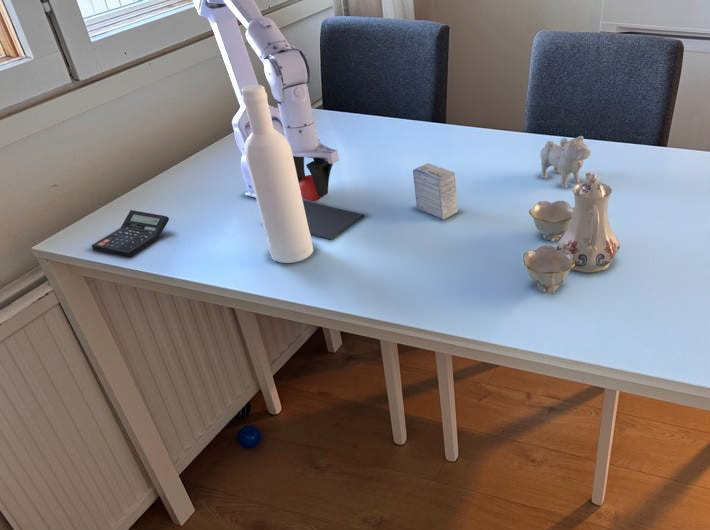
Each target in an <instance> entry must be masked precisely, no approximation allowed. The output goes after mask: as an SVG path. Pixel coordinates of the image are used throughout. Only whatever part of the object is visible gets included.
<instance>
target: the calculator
mask: <svg viewBox="0 0 710 530" xmlns="http://www.w3.org/2000/svg"><path fill="white" fill-rule="evenodd" d="M169 220H170V218H169V217H168V216H167V215H162V214H156V213H150V212H146V211H145V212H144V211H139V210H134V209H133V210H132V209H130V210H129V212H128V214H127V215H126V217H125V219H124V221H123V223H122V224H121V226H120V227H119V228H118V229H116V230H115V231H112V232H111V233H109V234H107V235H105V236H104V237H103V238H101V239H100V240H98V241H96V242H95V243H93V244H91V248H92V250H94V251H100V252H104V253H109V254H114V255H118V256H119V255H120V256H124V257H129V258H130V257H132V256H134V255H135V254H137V253H139V252H140V251H142V250H143V249H145V248H146V247H148V246H149V245H151V244H153V243H154V242H155V241H157V240H158V239H160V237H161V235H162V233H163V232H164V229H165V228H166V226H167V224H168V222H170V221H169Z"/></svg>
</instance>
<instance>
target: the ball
mask: <svg viewBox="0 0 710 530" xmlns="http://www.w3.org/2000/svg"><path fill="white" fill-rule="evenodd" d="M299 187H300V191H301V196H302V199H303V200H305V201H308V202H317V201H319V200H321V199H322V198H323V197H319V196H318V194H317V190H316V187H315V183H314V180H313V177H312V175H311V174H307V175H305V177H303V178H302V179H301V180H300V182H299Z"/></svg>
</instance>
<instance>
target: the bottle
mask: <svg viewBox="0 0 710 530" xmlns="http://www.w3.org/2000/svg"><path fill="white" fill-rule="evenodd" d="M241 91H242V99H243V101H244V103H245V107H246V111H247V115H248V119H249V122H248V123H249V124H250V126H251V130H252V133H251V134H250V136H249V137H248V138H247V140H246V142H245V158H246V162H247V166H248V170H249V174H250V177H251V181H252V185H253V189H254V192H255V196H256V198H255V200H256V203H257V207H258V210H259V211H258V212H259V214H260V218H261V222H262V226H263V230H264V233H265V237H266V243H267V248H268V251H269V252H270V256H271V258H272V259H273V261H275V262H278V263H282V264H292V263H299V262H301V261H304V260H305V259H307V258H308V257H310V256H311V255H312V254H313V252H314V246H313V239H312V235H310V232H309V228H308V223H307V218H306V214H305V209H304V205H303V200H304V199H303V197H302V196H301V191H300V187H299V182H298V177H297V173H296V168H295V164H294V159H293V155H292V150H291V147H290V145H289V143H288V141H287V139H286V138H285V136H284V135H282V134H281V133H279V132H278V131H276V130H275V129H274V127H273V123H272V118H271V114H270V110H269V105H270V104H269V102H268V99H269V98H268V94H267V92H266V87H265V86H263V85H262V84H258V85H248V86H245V87H243V89H242V90H241Z"/></svg>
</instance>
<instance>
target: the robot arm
mask: <svg viewBox="0 0 710 530" xmlns="http://www.w3.org/2000/svg"><path fill="white" fill-rule="evenodd" d="M192 2H193V5H194V7H195V9H196V11H197V13H198V15H199V16H201V17H203V18H207V20H208V22H209V25H210V27H211V28H212V31H213V34H214V37H215V39H216V42H217V45H218V48H219V50H220V53H221V56H222V59H223V62H224V64H225V67H226V70H227V73H228V76H229V79H230V82H231V84H232V87H233V90H234V92H235V93H234V94H235V96H236V98H237V102H238V104H239V106H240V107H239V109H238V111H237V112H236V114H235V115H234V116H233V118H232V120H231V125H232V130H233V133H234V139H235V143H236V145H237V147H238V150H239V151H240V153H241V154H242V156H241V160H240V168H241V172H242V176H243V179H244V183H245V187H246V190H247V191H246V192H245V193H244V194H245V196H247V197H251V198H255V199H256V196H255V192H254V189H253V185H252V181H251V177H250V174H249V170H248V166H247V162H246V158H245V142H246V140H247V138H248V137H249V136H250V134H251V133H252V130H251V126H250V123H249V119H248V115H247V111H246V107H245V103H244V101H243V99H242V91H241V90H242V89H243V87H245V86H248V85H259V82H258V79H257V76H256V73H255V70H254V68H253V65H252V61H251V59H250V56H249V52H248V49H247V47H246V44H245V41H244V38H243V35H242V32H241V29H240V26H239V23H238V20H239V22H240V23H241V24H242V25H243V27H245V29H246V30H245V39H246V41H247V42H248V44H249V45H250V47H251V49H252V50H253V51H254V52H255V54H256V56H257V57H258V58H259V60H260V62H261V63H262V64H263V71H264V75H265V77H266V80H267V83H268V85H269V88H270V90H271V95H272V96H273V99H274V100H276V103H277V107H278V108H276V107H275V106H272V105H270V104H268V105H269V110H270V114H271V118H272V123H273V127H274V129H275V130H276V131H278V132H279V133H281V134H282V135H284V136H285V138H286V139H287V141H288V143H289V145H290V147H291V150H292V155H293V159H294V164H295V168H296V173H297V177H298V182H300V180H301V179H302V178H303V177H305V176H306V172H305V166H306V169H308V171H309V174H310V175H312V177H313V180H314V183H315V187H316V190H317V194H318V196H319V197H322V198H323V197H325V196H326V195H328V194H329V181H330V175H331V171H332V168H333V166H334V164H335V163H336V162H339V161H340V158H339V153H338V150H337V149H334V148H331V147H329V146H327V145H324V144H322V142H321V139H318V134H317V128H316V125H315V118H314V113H313V108H312V103H311V99H310V92H309V87H308V84H309V83H310V82H311V79H312V72H311V66H310V63H309V60H308V58H307V55H306V54H305V53H304V50H302V49H301V48H300V47H297V46H295V45H294V44H290V43H289V41H288V40H287V39H286V37H285V36H284V34H283V33H282V32H281V30H280V29H279V27H278V26H277V25H276V23H275V21H274V20H273V19H271V18H269V17H264V15H263V13H262V12H261V11H260V9H259V7H258V5H257V3H256V1H255V0H192ZM237 19H238V20H237ZM248 123H249V124H248ZM305 158H308V159H313V160H312V161H311V162H309V163H307V164H306V165H305Z"/></svg>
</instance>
